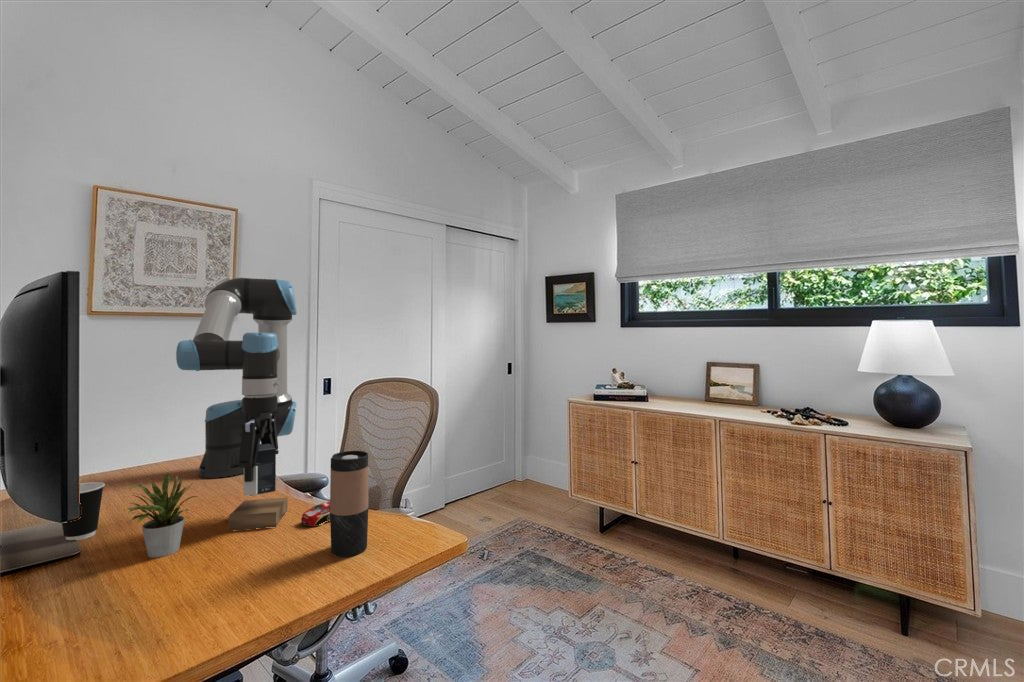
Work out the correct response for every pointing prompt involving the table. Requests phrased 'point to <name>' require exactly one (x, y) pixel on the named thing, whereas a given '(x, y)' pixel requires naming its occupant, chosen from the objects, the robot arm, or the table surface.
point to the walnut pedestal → (258, 514)
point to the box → (266, 469)
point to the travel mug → (349, 503)
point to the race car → (316, 514)
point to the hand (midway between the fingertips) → (259, 487)
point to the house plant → (162, 518)
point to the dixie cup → (86, 512)
